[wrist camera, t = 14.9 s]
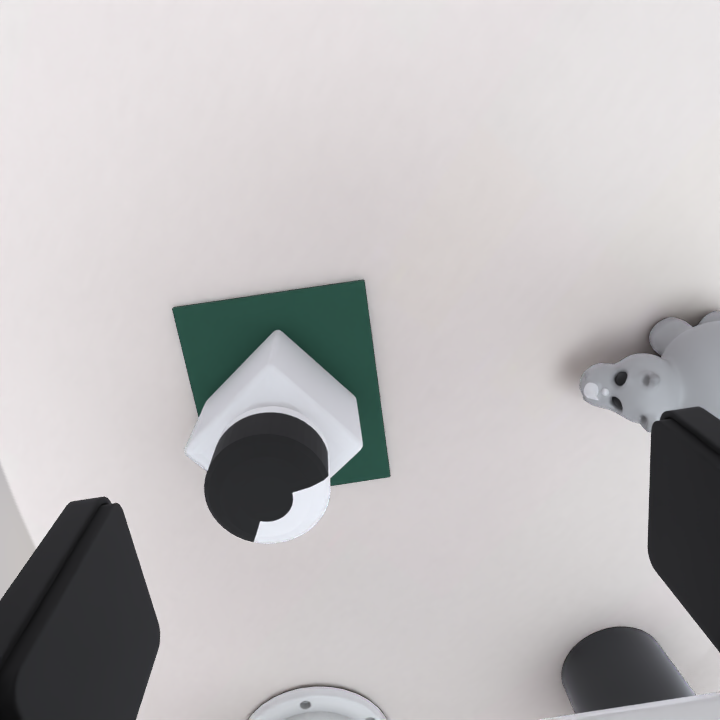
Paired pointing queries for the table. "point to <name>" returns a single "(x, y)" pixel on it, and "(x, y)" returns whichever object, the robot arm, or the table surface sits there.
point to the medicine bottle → (274, 443)
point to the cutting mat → (311, 333)
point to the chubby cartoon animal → (662, 374)
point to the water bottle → (620, 671)
